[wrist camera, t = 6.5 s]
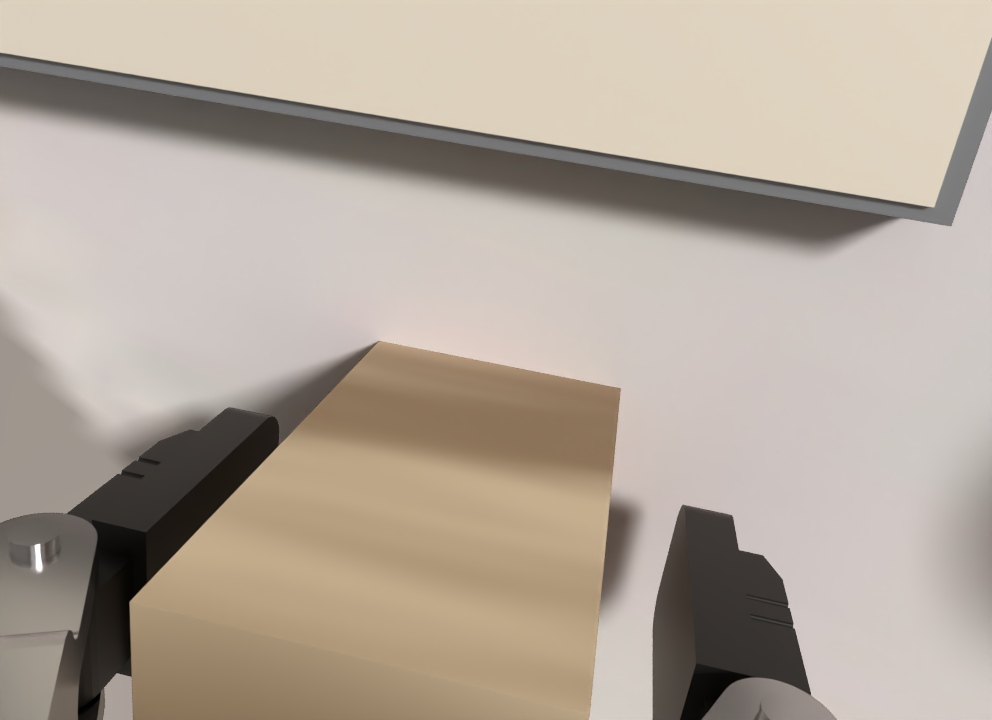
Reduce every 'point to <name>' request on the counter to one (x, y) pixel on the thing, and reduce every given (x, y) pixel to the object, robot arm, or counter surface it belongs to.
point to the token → (397, 557)
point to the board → (581, 80)
